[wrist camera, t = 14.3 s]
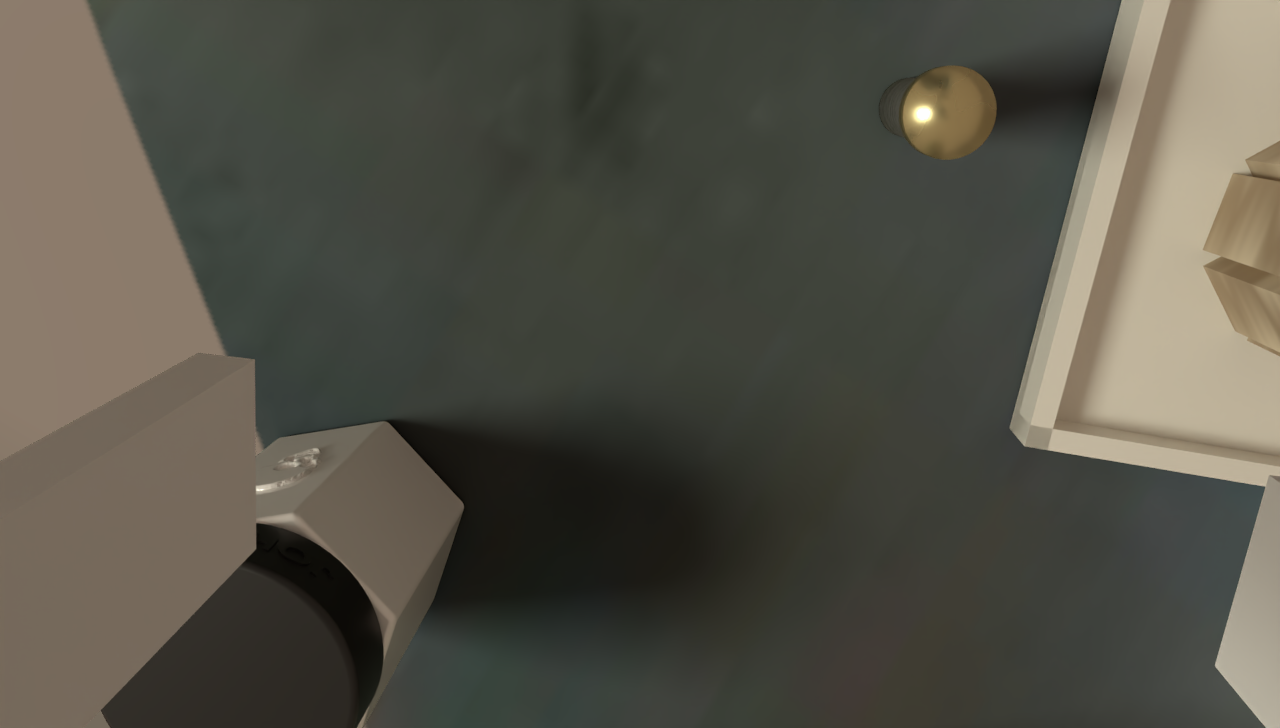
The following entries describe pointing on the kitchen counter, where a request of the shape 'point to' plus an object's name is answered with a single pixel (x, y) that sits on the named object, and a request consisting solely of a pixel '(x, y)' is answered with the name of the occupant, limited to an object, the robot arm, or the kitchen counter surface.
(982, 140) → the stake
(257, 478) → the jar
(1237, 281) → the ring
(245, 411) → the robot arm
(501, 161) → the kitchen counter surface
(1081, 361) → the tray
